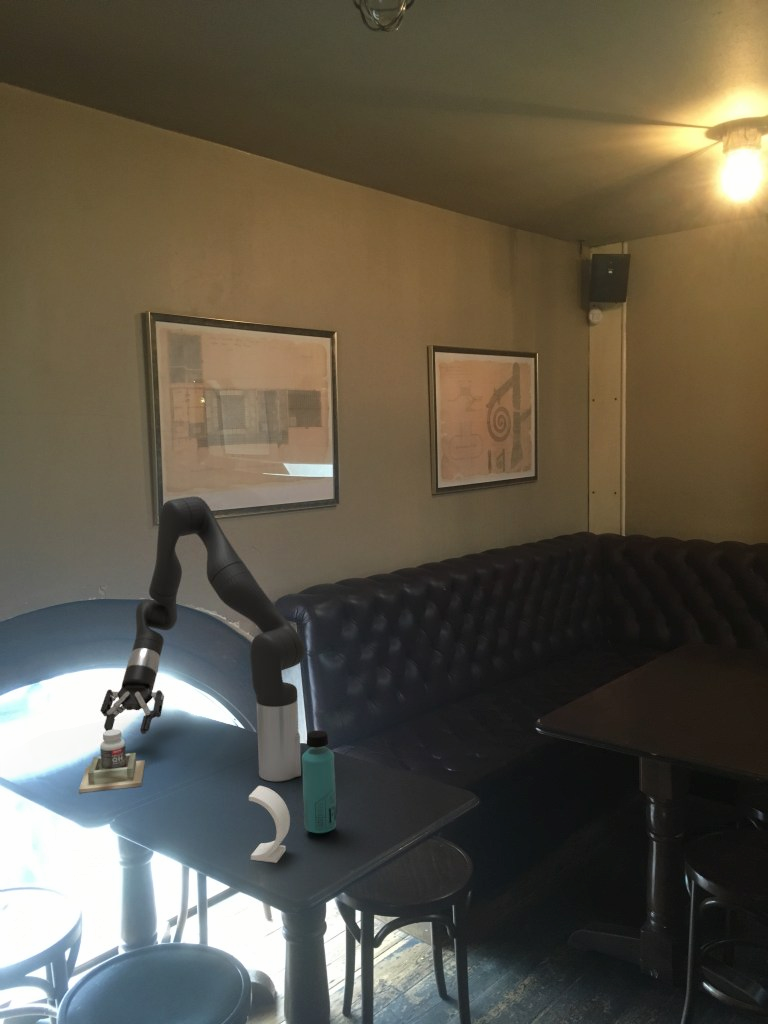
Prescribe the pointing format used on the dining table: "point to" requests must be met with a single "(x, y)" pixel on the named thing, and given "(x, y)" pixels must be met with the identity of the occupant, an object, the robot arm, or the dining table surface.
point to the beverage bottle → (319, 784)
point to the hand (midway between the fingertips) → (125, 732)
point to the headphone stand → (282, 821)
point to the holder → (112, 775)
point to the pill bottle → (113, 750)
